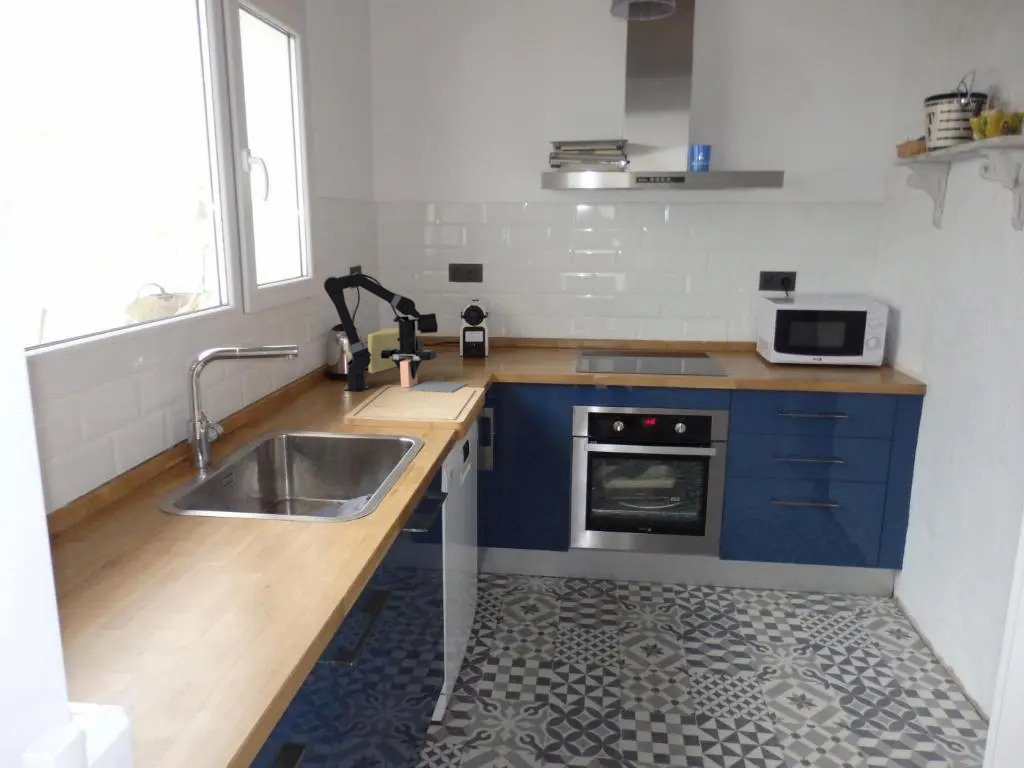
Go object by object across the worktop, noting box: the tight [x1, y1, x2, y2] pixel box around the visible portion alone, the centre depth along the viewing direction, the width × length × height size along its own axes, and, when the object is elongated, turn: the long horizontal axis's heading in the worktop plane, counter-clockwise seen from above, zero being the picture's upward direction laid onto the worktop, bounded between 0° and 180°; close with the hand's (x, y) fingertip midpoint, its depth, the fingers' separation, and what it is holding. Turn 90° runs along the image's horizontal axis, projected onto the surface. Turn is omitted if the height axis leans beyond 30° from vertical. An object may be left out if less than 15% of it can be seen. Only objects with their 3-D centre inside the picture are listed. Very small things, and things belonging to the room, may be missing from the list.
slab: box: [399, 358, 419, 388], centre depth 263 cm, size 7×3×9 cm, turn 162°
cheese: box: [367, 327, 409, 375], centre depth 295 cm, size 22×10×15 cm, turn 160°
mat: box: [408, 380, 468, 393], centre depth 260 cm, size 14×16×1 cm
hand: (409, 378), depth 263 cm, fingers closed on slab, 3 cm apart
